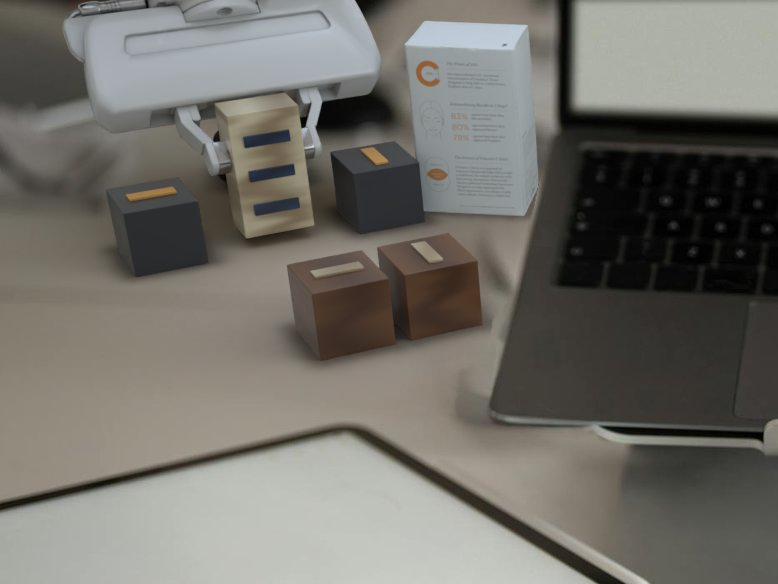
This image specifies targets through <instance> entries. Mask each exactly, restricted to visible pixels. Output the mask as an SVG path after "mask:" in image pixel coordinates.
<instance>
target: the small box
mask: <svg viewBox="0 0 778 584" xmlns="http://www.w3.org/2000/svg"><path fill="white" fill-rule="evenodd" d="M529 31H530V30H529V25H528V24H515V23H514V24H513V23H511V24H510V23H509V24H508V23H487V22H486V23H484V22H457V21H436V20H435V21H434V20H433V21H432V20H424V21H423V22H422V23H421V24H420V25H419V27H418V28H417V29H416V31H415V32H414V33H413V34H412V35H411V36H410V37H409V39H408V40H407V41H406V42H405V43H404V44H403V49H404V57H405V68H406V75H407V87H408V95H409V104H410V115H411V125H412V135H413V136H412V137H413V146H414V147H413V148H414V156H415V157H414V158H415V159H416V160H417V161H418V162H419V166H420V176H421V187H422V197H423V208H424V212H430V213H431V212H432V213H448V214H449V213H450V214H472V215H494V216H516V217H517V216H518V217H524V216H525V215H526V214H527V211H528V209H529V207H530V205H531V203H532V201H533V198H534V197H535V195H536V193H537V191H538V189H539V187H538V183H539V184H540V181H539V180H540V179H539V165H538V147H537V146H538V145H537V131H536V117H535V104H534V89H533V88H534V87H533V74H532V73H533V72H532V59H531V58H532V56H531V44H530V32H529ZM537 188H538V189H537Z"/></svg>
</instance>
